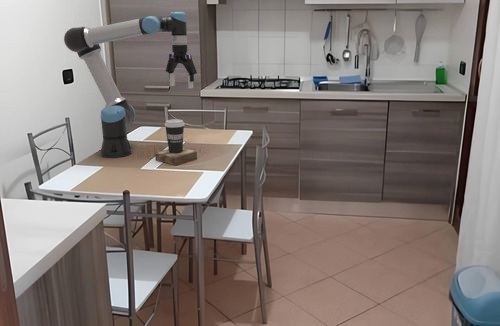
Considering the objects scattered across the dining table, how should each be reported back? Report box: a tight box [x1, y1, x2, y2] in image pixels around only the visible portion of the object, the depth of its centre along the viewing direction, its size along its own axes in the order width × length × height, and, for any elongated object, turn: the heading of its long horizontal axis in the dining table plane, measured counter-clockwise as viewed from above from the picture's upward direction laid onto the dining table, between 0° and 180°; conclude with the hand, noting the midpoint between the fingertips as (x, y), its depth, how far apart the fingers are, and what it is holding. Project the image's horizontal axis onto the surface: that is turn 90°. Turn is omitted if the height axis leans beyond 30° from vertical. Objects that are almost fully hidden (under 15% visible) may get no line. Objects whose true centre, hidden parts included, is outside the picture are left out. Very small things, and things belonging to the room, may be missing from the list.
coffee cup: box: [163, 118, 185, 153], centre depth 233 cm, size 10×10×15 cm
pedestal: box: [154, 147, 198, 166], centre depth 236 cm, size 14×14×4 cm
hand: (181, 87), depth 249 cm, fingers open, 13 cm apart
